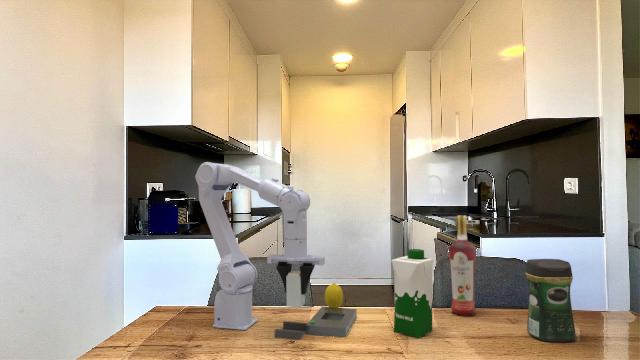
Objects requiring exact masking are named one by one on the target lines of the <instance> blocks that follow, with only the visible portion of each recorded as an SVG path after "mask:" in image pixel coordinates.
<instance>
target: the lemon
mask: <svg viewBox="0 0 640 360" xmlns="http://www.w3.org/2000/svg"><path fill="white" fill-rule="evenodd" d="M324 302H325V304H326V307H335V308H341V306H342V304H343V302H344V293H343V290H342V287H341V286H340V285H339V284H336V283H335V282H333V283H331V284H329V285H328V286H327V287H326V289H325V292H324Z"/></svg>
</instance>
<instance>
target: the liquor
mask: <svg viewBox="0 0 640 360" xmlns="http://www.w3.org/2000/svg"><path fill="white" fill-rule="evenodd" d="M467 219H468V218H467V215H456V223H457V233H456V242H454V243H451V245H449V246H448V252H449V254H448V255H449V270H450V281H451V282H450V283H451V303H452V304H451V307H450V309H451V310H452V311H453V312H454V314H455V315H458V316H463V317H464V316H465V317H466V316H467V317H469V316H472V315H473V314H474V313H475V312H477V309H476V306H475V305H476V304H475V296H476V295H475V293H476V292H475V290H476V289H475V287H476V286H475V284H476V266H477V263H476V262H477V261H476V260H477V259H476V258H477V257H476V256H477V255H476V254H477V248H476V247H475V246H474V245H473V244H471V243H469V241H468V233H467V223H468V222H467V221H468V220H467Z"/></svg>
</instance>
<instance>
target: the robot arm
mask: <svg viewBox="0 0 640 360" xmlns="http://www.w3.org/2000/svg"><path fill="white" fill-rule="evenodd" d="M194 178H195V181H196V183H197V186H198V201H199V203H200V206H201V208H202V211H203V214H204V217H205V220H206V223H207V226H208V228H209V230H210V233H211V235H212V238H213V241H214V244H215V247H216V249H217V252H218V255H219V257H220V261H219V263H218V265H217V268H216V269H217V272H218V284H219V287H220V288H221V289H220V290H218V292H217V293H216V295H215V298H214V301H213V302H214V304H213V305H214V306H213V307H214V308H213V309H214V312H213V313H214V319H213V320H214V323H213V325H212V328H218V329H219V328H220V329H228V330H239V331H240V330H241V331H247V330H248V329H249V328H250V327H251V326H253V325H254V324H255V323H257V322H258V321H259V319H258V318H254V317H253V289H254V284H255V282H256V281H257V279H258V270H257V269H256V266H255V265H254V264H253V263H252V262H251V261H250V258H249V256H247V255H246V254H245V253H243V252H242V251H241V249H240V248H241V247H239V243H238V241H237V239H236V236H235V233H234V231H233V228H232V225H231V223H230V221H229V217H228V215H227V213H226V212H227V211H226V210H225V207H224V204H223V202H222V198H223V197H224V195H225V194H226V192H227V191H228V190H229V189H230V187H231V186H232V185H233V184H235V183H236V184H238V185H241V186H243V187H245V188H247V189H251V190H254V191H256V192H257V193H258V197H259V198H260V199H262V200H264V201H266V202H267V203H268V202H269V203H270V204H272V205H274V206H276V207H278V208H280V210H281V212H282V213H283V228H284V229H283V234H284V235H283V245H284V246H283V249H284V250H283V254H268V255H267V256H266V257H267V260H266V261H267V264H277V265H276V271H277V272H278V275H279V276H280V278H281V280H282V281H281V282H282V284H283V288H284V293H285V294H286V295H287V289H286V276H287V275H288V273H289V272H291V271H292V268H293V264H294V265H300V266H299V271H300V273H301V294H302V295H304V294H305V295H306V294H307V291H308V284H309V282H310V278H311V276H312V274H313V271H314V269H315V266H316V265H317V266H324V265H325V256H323V255H321V256H320V255H311V254H308V231H307V230H308V221H307V220H308V219H307V218H308V217H307V216H308V215H307V214H308V213H307V211H308V209H309V208H310V206H311V198H310V196H309V194H307V193H306V192H305V191H304V190H301V189H300V190H299V189H298V190H294V186H292V185H285V184H283V183H281V182H279V179H278V178H276V177H271V178H266V179H262V178H259V177H258V176H256V175H253V174H252V173H249V172H248V171H246V170H244V169H242V168H240V167H238V166H234V165H231V164H229V163H225V164H224V163H216V162H215V163H214V162H210V161H206V162H205V161H204V162H203V163H201V164H200V165H199V167H198V168H197V171H196V174H195V175H194Z"/></svg>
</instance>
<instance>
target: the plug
mask: <svg viewBox="0 0 640 360" xmlns="http://www.w3.org/2000/svg"><path fill="white" fill-rule="evenodd" d="M286 289H287V294H286V308H287V307H289V308H290V307H291V308H302V307H303V306H304V305H305V303H306V294H304V295H302V294H301V273H300V270H291V272H289V273H288V275H287V276H286Z"/></svg>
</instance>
